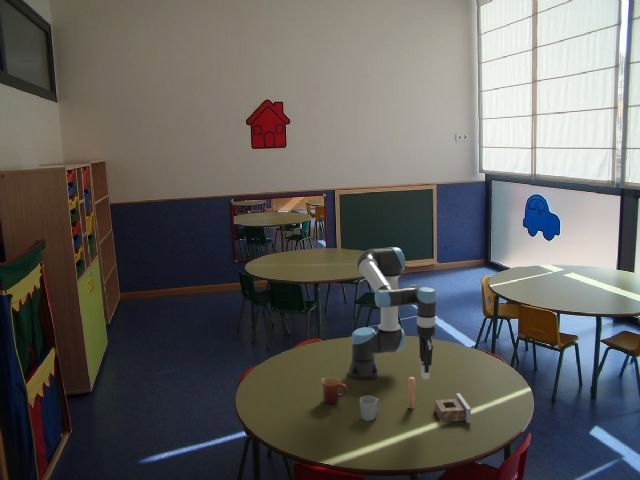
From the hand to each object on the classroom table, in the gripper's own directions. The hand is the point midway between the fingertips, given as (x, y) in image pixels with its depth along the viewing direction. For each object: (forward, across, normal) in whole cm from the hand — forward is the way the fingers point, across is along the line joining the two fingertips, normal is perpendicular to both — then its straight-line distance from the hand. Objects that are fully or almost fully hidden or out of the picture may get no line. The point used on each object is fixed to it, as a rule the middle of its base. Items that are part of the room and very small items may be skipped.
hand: (425, 377), depth 233 cm
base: (+18, 0, -17) cm, 25 cm away
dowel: (+18, +9, +4) cm, 21 cm away
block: (+18, 0, -11) cm, 21 cm away
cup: (+19, +3, +23) cm, 30 cm away
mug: (+19, +18, +37) cm, 45 cm away
